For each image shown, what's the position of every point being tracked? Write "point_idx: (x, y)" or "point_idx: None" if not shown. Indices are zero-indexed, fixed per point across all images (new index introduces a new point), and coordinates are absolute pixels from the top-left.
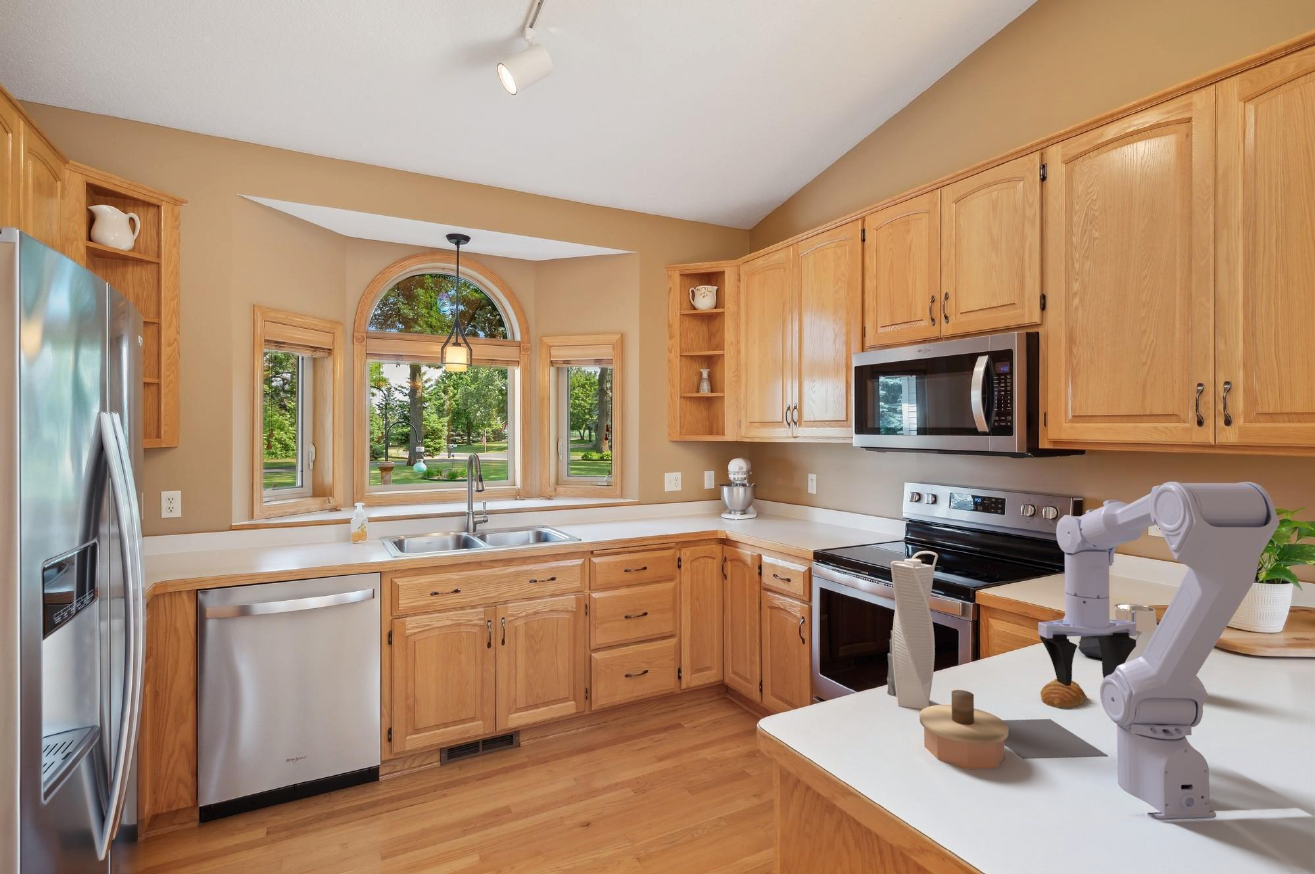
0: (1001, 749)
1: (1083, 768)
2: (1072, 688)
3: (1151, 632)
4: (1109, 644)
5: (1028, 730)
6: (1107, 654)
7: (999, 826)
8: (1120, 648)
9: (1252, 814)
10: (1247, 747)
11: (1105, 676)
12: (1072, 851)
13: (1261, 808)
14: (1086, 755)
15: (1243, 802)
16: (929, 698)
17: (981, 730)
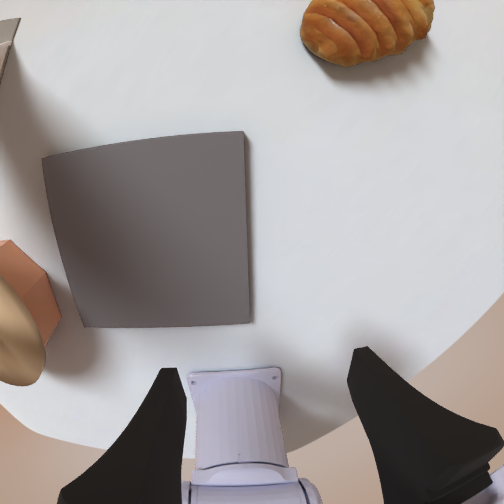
0: (45, 343)
1: (183, 338)
2: (403, 26)
3: None
4: (405, 478)
5: (140, 208)
6: (393, 434)
7: (47, 413)
8: (384, 500)
9: (324, 412)
10: (496, 257)
11: (356, 365)
12: (98, 441)
13: (347, 402)
14: (205, 323)
15: (341, 395)
16: (1, 48)
17: (6, 364)
